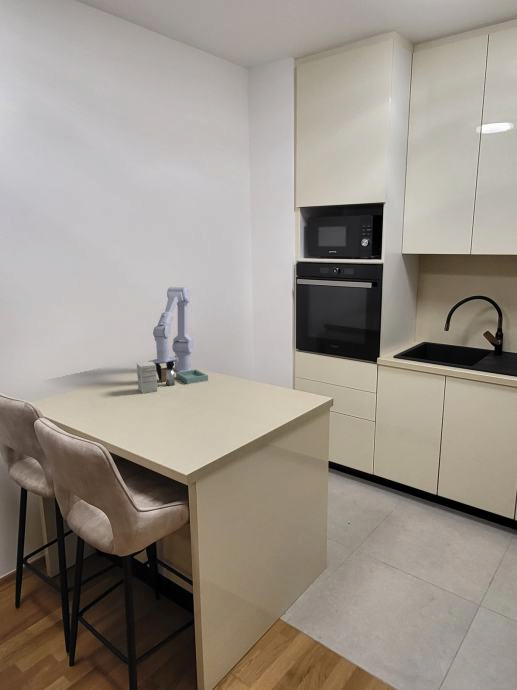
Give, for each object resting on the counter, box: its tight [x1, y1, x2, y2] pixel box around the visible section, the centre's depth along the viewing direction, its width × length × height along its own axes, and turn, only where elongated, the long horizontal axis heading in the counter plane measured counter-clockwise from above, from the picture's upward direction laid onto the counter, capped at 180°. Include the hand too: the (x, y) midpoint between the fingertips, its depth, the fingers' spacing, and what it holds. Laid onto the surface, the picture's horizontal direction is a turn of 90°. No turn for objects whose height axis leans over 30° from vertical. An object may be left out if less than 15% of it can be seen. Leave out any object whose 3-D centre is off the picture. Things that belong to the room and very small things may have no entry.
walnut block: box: [158, 367, 169, 383], centre depth 231 cm, size 4×4×6 cm
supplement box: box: [136, 361, 158, 394], centre depth 215 cm, size 7×7×13 cm
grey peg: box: [165, 368, 176, 387], centre depth 224 cm, size 4×4×7 cm
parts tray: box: [175, 369, 209, 385], centre depth 233 cm, size 14×11×3 cm
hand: (164, 377), depth 231 cm, fingers closed on walnut block, 4 cm apart
